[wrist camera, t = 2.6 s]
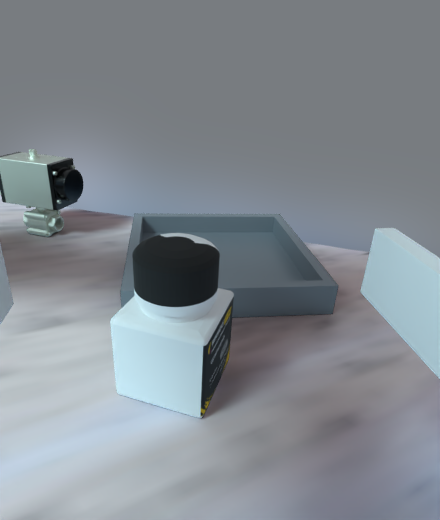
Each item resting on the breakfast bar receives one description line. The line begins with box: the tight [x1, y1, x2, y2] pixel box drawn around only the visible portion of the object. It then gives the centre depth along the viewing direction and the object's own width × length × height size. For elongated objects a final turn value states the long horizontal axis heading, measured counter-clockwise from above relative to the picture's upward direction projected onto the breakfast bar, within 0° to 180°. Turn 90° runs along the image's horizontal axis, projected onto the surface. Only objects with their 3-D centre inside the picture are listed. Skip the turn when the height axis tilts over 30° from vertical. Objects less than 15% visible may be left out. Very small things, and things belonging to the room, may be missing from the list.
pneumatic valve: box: [0, 149, 83, 237], centre depth 55 cm, size 6×12×12 cm, turn 74°
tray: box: [120, 214, 338, 318], centre depth 49 cm, size 22×22×4 cm
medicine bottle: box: [110, 233, 234, 418], centre depth 29 cm, size 7×7×12 cm
